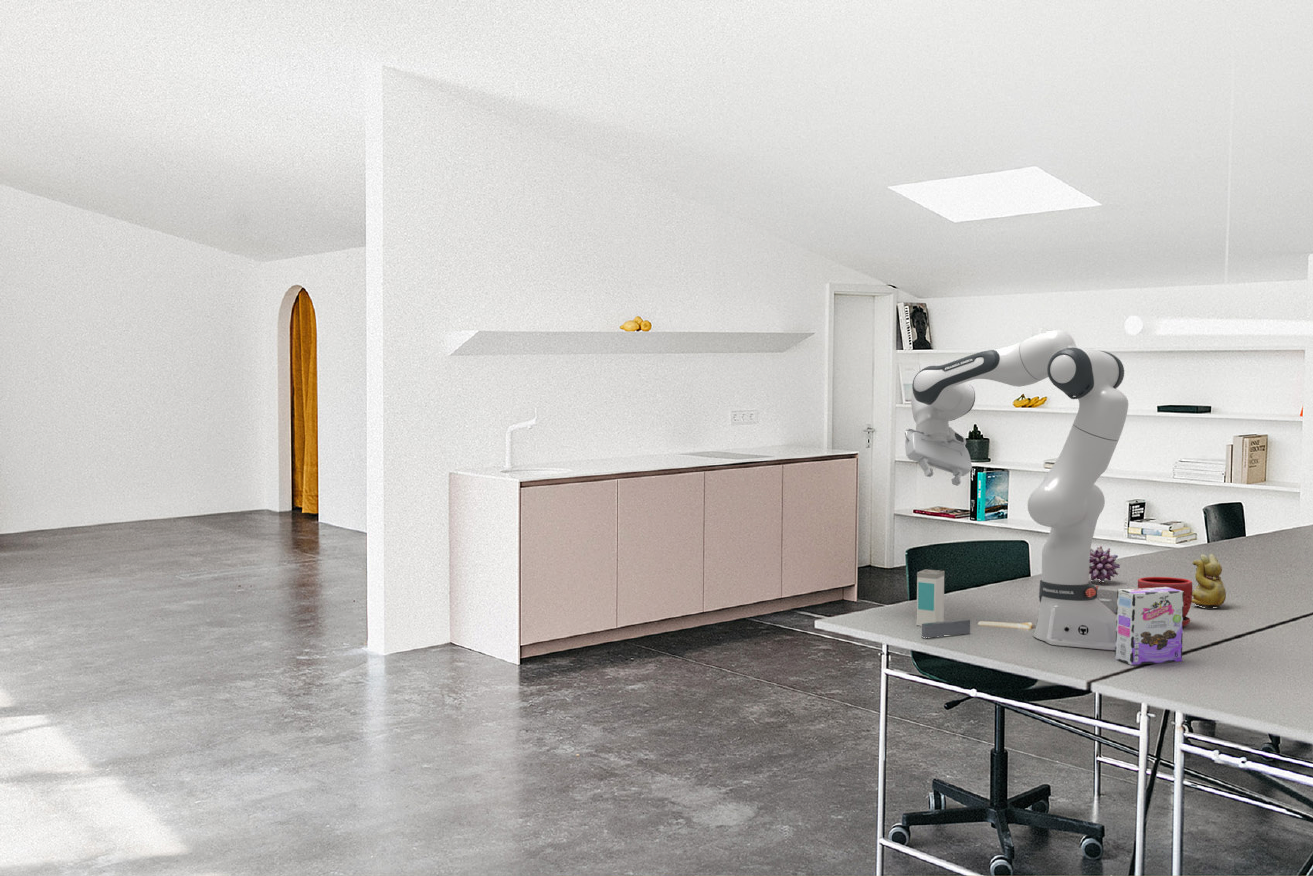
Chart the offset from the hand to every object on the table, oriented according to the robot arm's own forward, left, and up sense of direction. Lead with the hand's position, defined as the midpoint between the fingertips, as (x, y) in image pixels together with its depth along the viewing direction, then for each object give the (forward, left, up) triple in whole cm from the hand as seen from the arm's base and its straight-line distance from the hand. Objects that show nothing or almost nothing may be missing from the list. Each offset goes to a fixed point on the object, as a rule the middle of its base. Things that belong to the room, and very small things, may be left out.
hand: (943, 479), depth 300 cm
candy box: (-54, +14, -38) cm, 68 cm away
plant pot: (-49, -30, -38) cm, 69 cm away
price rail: (-7, +16, -38) cm, 42 cm away
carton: (+1, +6, -38) cm, 38 cm away
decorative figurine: (-55, -62, -38) cm, 91 cm away
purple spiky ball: (-20, -84, -38) cm, 94 cm away
